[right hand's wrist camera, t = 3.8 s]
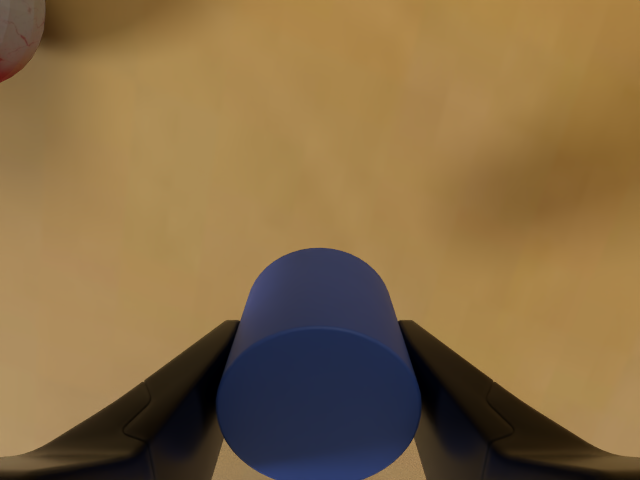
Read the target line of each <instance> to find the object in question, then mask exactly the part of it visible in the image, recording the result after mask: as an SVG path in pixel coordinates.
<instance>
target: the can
mask: <svg viewBox="0 0 640 480" xmlns="http://www.w3.org/2000/svg"><path fill="white" fill-rule="evenodd" d="M421 409H422V401H421V393H420V389H419V386H418V382H417V379H416V376H415V373H414V370H413V367H412V364H411V361H410V357H409V354H408V351H407V348H406V345H405V342H404V339H403V336H402V333H401V330H400V327H399V324H398V320H397V317H396V314H395V311H394V308H393V305H392V302H391V299H390V296H389V293H388V290H387V288H386V286H385V284H384V282H383V281H382V279H381V277H380V276H379V275H378V274H377V273H376V271H375V270H374V269H373V268H371V267H370V266H369V265H368V264H367V263H365V262H364V261H362V260H361V259H359V258H357V257H355V256H353V255H351V254H349V253H346V252H343V251H339V250H335V249H328V248H309V249H303V250H299V251H295V252H292V253H289V254H287V255H285V256H282V257H281V258H279V259H277V260H276V261H274V262H273V263H271V264H270V265H269V266H268V267H266V269H265V270H264V271H263V272H262V273H261V274H260V275H259V276H258V278H257V279H256V281H255V282H254V284H253V286H252V288H251V291H250V294H249V296H248V299H247V302H246V305H245V309H244V312H243V315H242V318H241V321H240V324H239V327H238V330H237V333H236V336H235V339H234V342H233V345H232V348H231V351H230V354H229V357H228V360H227V363H226V366H225V369H224V372H223V375H222V378H221V381H220V384H219V387H218V390H217V396H216V414H217V420H218V424H219V427H220V430H221V433H222V435H223V437H224V439H225V440H226V442H227V444H228V445H229V446H230V448H231V449H232V451H233V452H234V453H235V454H236V455H237V456H238V457H239V458H240V459H241V460H242V461H244V462H245V463H246V464H247V465H249V466H250V467H252V468H253V469H255V470H256V471H258V472H260V473H262V474H264V475H266V476H268V477H270V478H273V479H275V480H363V479H365V478H367V477H370V476H372V475H374V474H376V473H378V472H380V471H381V470H383V469H385V468H386V467H387V466H389V465H390V464H392V463H393V462H394V461H395V460H396V459H397V458H398V457H399V456H400V455H402V453H403V452H404V451H405V450H406V448H407V447H408V446H409V444H410V443H411V441H412V439H413V438H414V436H415V433H416V431H417V429H418V426H419V421H420V417H421Z"/></svg>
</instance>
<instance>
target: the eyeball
mask: <svg viewBox="0 0 640 480" xmlns="http://www.w3.org/2000/svg"><path fill="white" fill-rule="evenodd" d="M45 12H46V6H45V0H0V82H2V81H4V80H6V79H8V78H10V77H12V76H13V75H15V74H16V73H17V72H19V71H20V70H21V69H23V67H24V66H25V65H26V64H27V63H28V62H29V61H30V59H31V58H32V57H33V55H34V53H35V51H36V50H37V48H38V46H39V44H40V41H41V37H42V34H43V31H44V23H45Z"/></svg>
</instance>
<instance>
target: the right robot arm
mask: <svg viewBox="0 0 640 480" xmlns="http://www.w3.org/2000/svg"><path fill="white" fill-rule="evenodd" d="M239 324H240V321H239V320H226V321H224V322H223V323H222V324H220V325H219V326H218V327H216V328H215V329H214V330H212V331H211V332H210V333H208V334H207V335H205V336H204V337H203V338H201V339H200V340H199V341H197V342H196V343H195V344H193V345H192V346H191V347H189V348H188V349H186V350H185V351H184V352H182V353H181V354H180V355H178V356H177V357H176V358H174V359H173V360H171V361H170V362H169V363H167V364H166V365H165V366H163V367H162V368H161V369H159V370H158V371H157V372H155V373H154V374H152V375H151V376H150V377H148V378H147V379H146V380H145V381H144V382H141V383H140V384H139V385H137V386H136V387H135V388H133V389H132V390H131V391H129V392H128V393H126V394H125V395H123V396H122V397H121V398H119V399H118V400H116V401H115V402H113V403H112V404H110V405H109V406H107V407H106V408H104V409H102V410H101V411H99V412H98V413H96V414H95V415H93V416H91V417H90V418H88V419H86V420H85V421H83V422H82V423H80V424H78V425H77V426H75V427H74V428H72V429H70V430H69V431H67V432H66V433H64V434H62V435H61V436H59V437H57V438H56V439H54V440H53V441H51V442H49V443H48V444H46V445H44V446H42V447H40V448H38V449H36V450H34V451H31V452H28V453H25V454H21V455H17V456H10V457H0V480H211V479H212V476H213V472H214V469H215V466H216V462H217V459H218V456H219V452H220V449H221V446H222V442H223V439H224V437H223V435H222V433H221V430H220V427H219V424H218V420H217V414H216V396H217V390H218V387H219V384H220V381H221V378H222V375H223V372H224V369H225V366H226V363H227V360H228V357H229V354H230V351H231V348H232V345H233V342H234V339H235V336H236V333H237V330H238V327H239ZM398 324H399V327H400V330H401V333H402V336H403V339H404V342H405V345H406V348H407V351H408V354H409V357H410V361H411V364H412V367H413V370H414V373H415V376H416V379H417V382H418V386H419V389H420V393H421V401H422V409H421V417H420V421H419V426H418V429H417V431H416V433H415V436H414V439H415V442H416V446H417V449H418V453H419V456H420V459H421V463H422V466H423V469H424V473H425V476H426V480H640V458H639V457H627V456H620V455H615V454H612V453H609V452H606V451H603V450H601V449H599V448H597V447H594V446H593V445H591V444H589V443H588V442H586V441H584V440H583V439H581V438H579V437H578V436H576V435H575V434H573V433H571V432H570V431H568V430H567V429H565V428H563V427H562V426H560V425H559V424H557V423H555V422H554V421H552V420H551V419H549V418H547V417H546V416H544V415H543V414H541V413H539V412H538V411H536V410H535V409H533V408H532V407H530V406H529V405H527V404H526V403H524V402H523V401H521V400H520V399H518V398H517V397H515V396H514V395H513V394H511V393H510V392H508V391H507V390H505V389H504V388H503V387H501V386H500V385H499V384H497V383H496V382H493V380H492V379H491V378H489V377H488V376H486V375H485V374H484V373H482V372H481V371H480V370H478V369H477V368H476V367H474V366H473V365H472V364H470V363H469V362H468V361H466V360H465V359H464V358H462V357H461V356H460V355H458V354H457V353H455V352H454V351H453V350H451V349H450V348H449V347H447V346H446V345H445V344H443V343H442V342H441V341H439V340H438V339H437V338H435V337H434V336H433V335H431V334H430V333H429V332H427V331H426V330H425V329H423V328H422V327H420V326H419V325H418V324H416V323H415V322H414V321H412V320H399V321H398Z"/></svg>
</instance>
